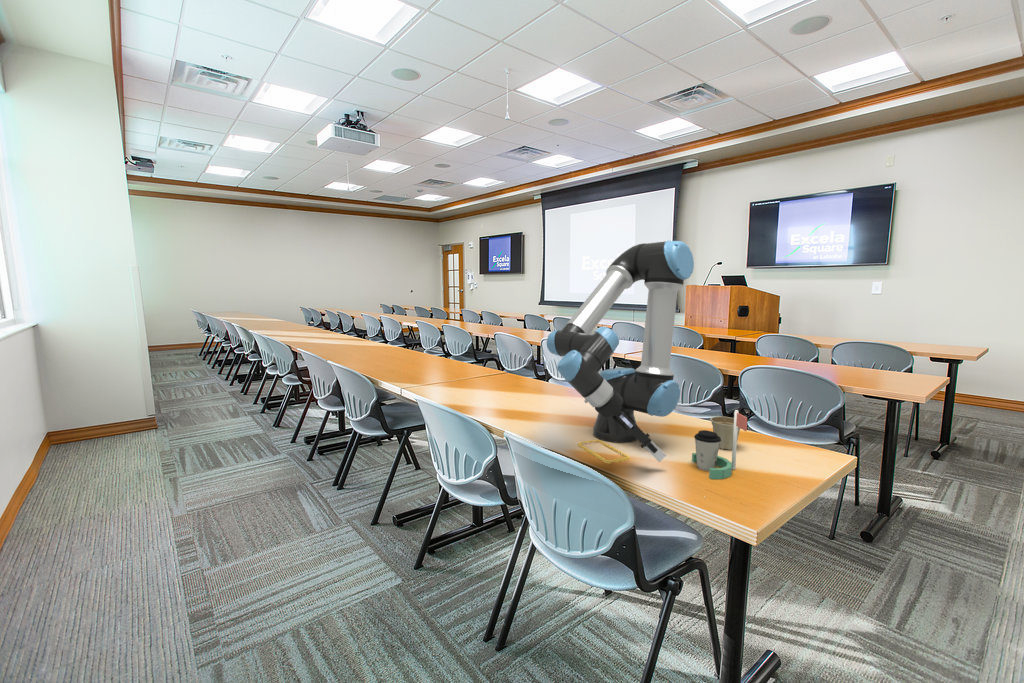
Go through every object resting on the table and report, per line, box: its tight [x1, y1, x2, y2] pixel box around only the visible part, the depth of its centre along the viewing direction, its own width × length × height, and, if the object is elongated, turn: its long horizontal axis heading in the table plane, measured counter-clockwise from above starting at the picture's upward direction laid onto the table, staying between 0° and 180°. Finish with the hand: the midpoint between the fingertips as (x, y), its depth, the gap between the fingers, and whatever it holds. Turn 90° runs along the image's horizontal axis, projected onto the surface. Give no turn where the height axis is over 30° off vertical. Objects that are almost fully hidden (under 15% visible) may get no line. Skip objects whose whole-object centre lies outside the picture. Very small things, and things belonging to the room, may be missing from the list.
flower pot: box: [709, 416, 742, 451], centre depth 143 cm, size 9×9×9 cm
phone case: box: [577, 439, 630, 464], centre depth 139 cm, size 8×17×1 cm, turn 22°
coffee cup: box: [693, 429, 721, 472], centre depth 126 cm, size 7×7×10 cm
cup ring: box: [691, 452, 733, 480], centre depth 125 cm, size 12×8×2 cm, turn 1°
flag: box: [731, 409, 748, 471], centre depth 122 cm, size 6×1×17 cm, turn 1°
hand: (661, 457), depth 124 cm, fingers closed
